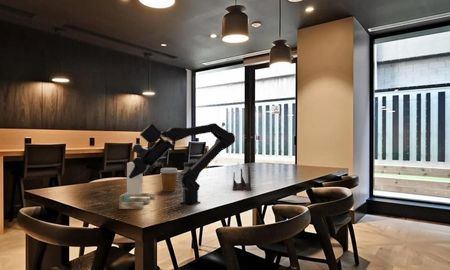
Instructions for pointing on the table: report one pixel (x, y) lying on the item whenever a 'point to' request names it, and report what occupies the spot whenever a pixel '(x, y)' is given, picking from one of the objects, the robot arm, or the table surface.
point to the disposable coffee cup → (168, 178)
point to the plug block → (134, 181)
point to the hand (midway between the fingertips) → (131, 177)
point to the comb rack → (135, 200)
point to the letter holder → (243, 182)
